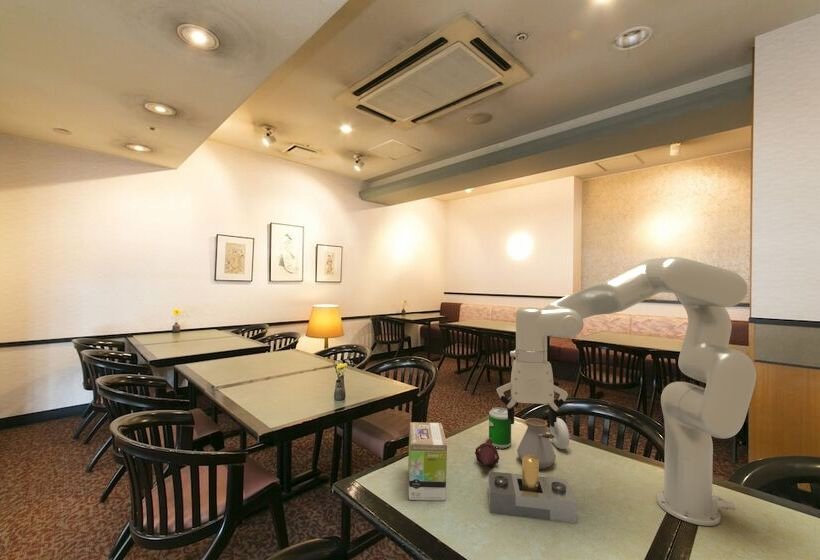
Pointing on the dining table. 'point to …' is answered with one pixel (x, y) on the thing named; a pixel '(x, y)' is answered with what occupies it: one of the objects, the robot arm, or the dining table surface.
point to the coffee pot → (537, 443)
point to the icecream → (487, 454)
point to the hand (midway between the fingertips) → (531, 423)
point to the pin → (530, 473)
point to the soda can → (499, 428)
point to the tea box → (427, 461)
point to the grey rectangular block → (532, 498)
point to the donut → (560, 434)
